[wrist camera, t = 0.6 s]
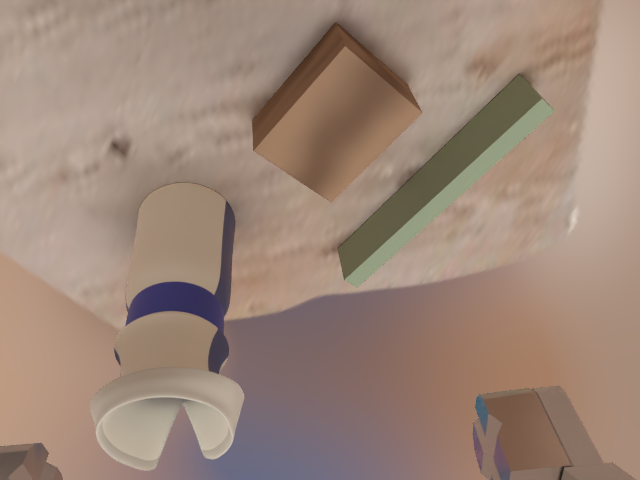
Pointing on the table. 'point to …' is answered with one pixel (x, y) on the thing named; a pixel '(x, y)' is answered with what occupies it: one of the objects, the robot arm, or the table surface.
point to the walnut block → (333, 115)
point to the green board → (444, 178)
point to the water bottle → (173, 331)
